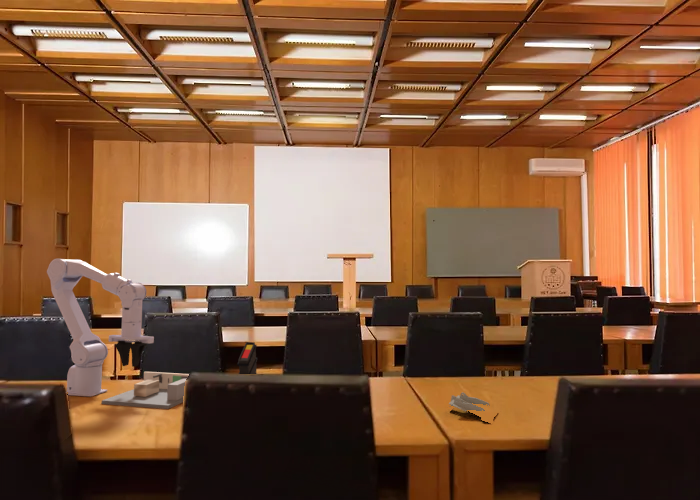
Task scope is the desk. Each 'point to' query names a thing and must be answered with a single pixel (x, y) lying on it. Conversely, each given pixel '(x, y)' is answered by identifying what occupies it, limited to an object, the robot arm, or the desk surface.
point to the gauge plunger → (147, 387)
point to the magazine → (248, 359)
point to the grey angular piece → (466, 402)
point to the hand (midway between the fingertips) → (130, 365)
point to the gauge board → (164, 399)
